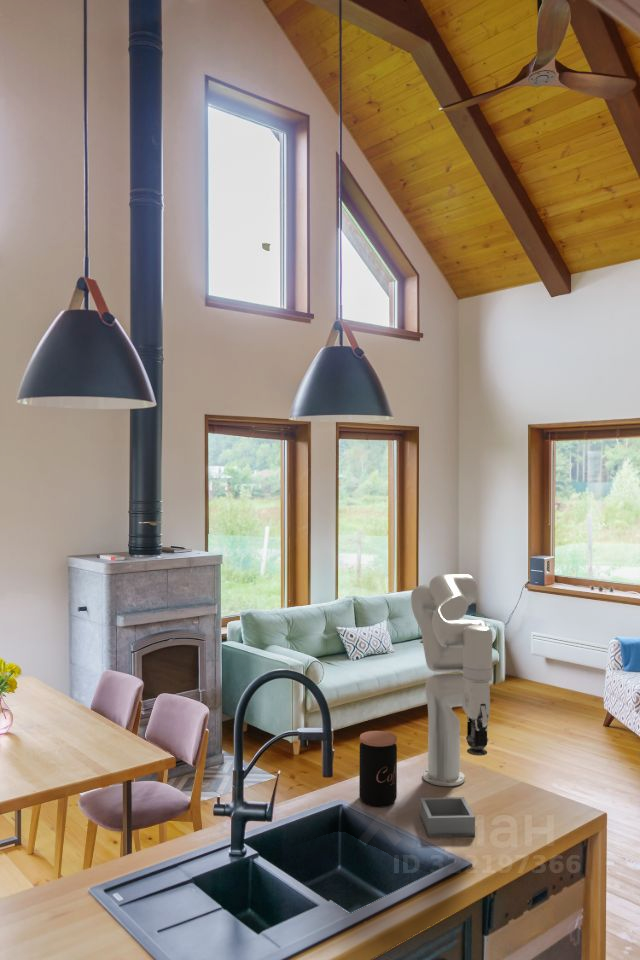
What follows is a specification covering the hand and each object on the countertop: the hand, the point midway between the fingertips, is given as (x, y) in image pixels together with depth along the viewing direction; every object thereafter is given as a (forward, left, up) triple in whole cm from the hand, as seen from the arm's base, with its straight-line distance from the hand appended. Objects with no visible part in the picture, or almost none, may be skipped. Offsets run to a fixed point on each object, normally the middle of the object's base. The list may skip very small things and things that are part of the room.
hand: (476, 740), depth 203 cm
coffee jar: (-16, -24, -23) cm, 37 cm away
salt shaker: (0, 0, -3) cm, 3 cm away
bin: (+1, -8, -22) cm, 24 cm away
